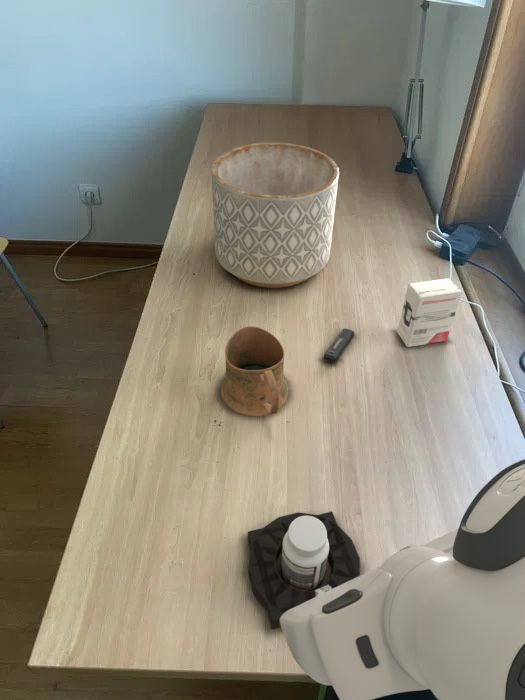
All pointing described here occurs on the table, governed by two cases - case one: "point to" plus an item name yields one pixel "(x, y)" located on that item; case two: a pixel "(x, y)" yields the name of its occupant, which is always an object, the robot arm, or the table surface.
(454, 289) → the ink box
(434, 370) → the table surface
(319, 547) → the pill bottle
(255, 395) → the mug
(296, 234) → the planter
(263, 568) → the base pad
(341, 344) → the usb stick
